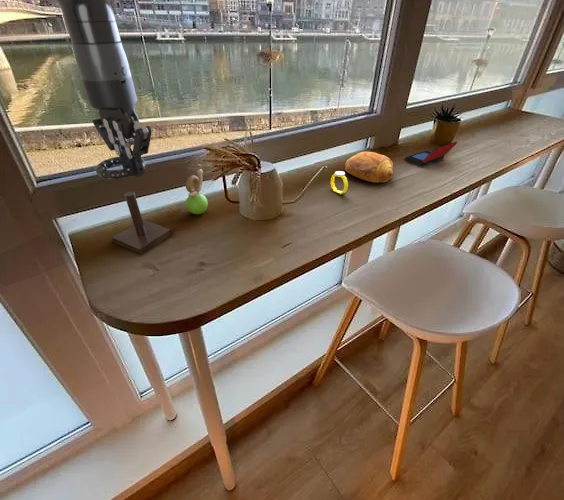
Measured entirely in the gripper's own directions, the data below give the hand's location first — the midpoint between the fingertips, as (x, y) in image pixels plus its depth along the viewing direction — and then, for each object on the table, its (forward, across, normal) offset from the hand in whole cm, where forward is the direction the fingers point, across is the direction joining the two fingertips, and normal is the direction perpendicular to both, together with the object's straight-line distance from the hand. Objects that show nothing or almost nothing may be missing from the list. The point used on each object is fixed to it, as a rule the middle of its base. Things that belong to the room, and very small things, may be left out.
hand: (135, 173), depth 63 cm
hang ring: (-1, -4, 0) cm, 4 cm away
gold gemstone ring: (+17, +26, +45) cm, 55 cm away
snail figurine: (+17, -1, +16) cm, 23 cm away
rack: (+17, -4, 0) cm, 17 cm away
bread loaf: (+17, +30, +62) cm, 71 cm away
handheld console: (+17, +44, +83) cm, 95 cm away
